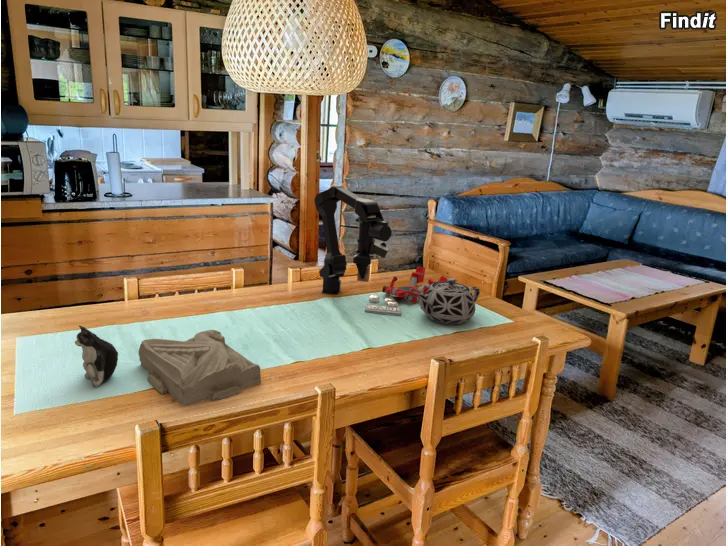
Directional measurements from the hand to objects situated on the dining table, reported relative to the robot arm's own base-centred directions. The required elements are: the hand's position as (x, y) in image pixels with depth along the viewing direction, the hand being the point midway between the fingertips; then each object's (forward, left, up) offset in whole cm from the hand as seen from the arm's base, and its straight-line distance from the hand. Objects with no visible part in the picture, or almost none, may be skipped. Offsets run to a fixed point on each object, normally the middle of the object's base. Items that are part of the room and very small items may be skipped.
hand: (363, 277), depth 207 cm
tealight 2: (+10, +6, -11) cm, 16 cm away
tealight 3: (+12, +2, -11) cm, 16 cm away
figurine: (-59, -76, -11) cm, 97 cm away
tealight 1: (+4, +6, -11) cm, 14 cm away
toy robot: (+19, +20, -12) cm, 30 cm away
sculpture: (-36, -67, -12) cm, 77 cm away
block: (0, 0, -1) cm, 1 cm away
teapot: (+31, -5, -11) cm, 34 cm away
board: (+9, -4, -11) cm, 15 cm away
